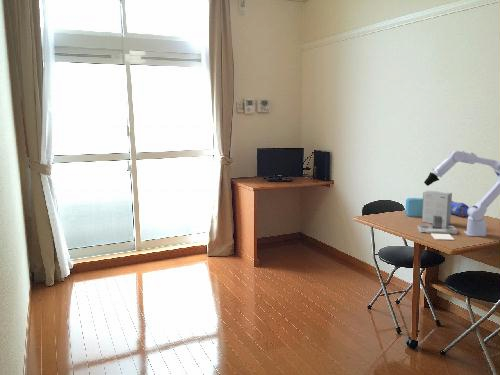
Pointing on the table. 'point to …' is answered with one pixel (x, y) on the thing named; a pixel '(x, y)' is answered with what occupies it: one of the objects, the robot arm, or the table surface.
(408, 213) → the data package
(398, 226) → the table surface
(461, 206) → the pencil case
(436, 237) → the mat
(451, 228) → the grey rail
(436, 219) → the square block
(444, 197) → the hard drive box
